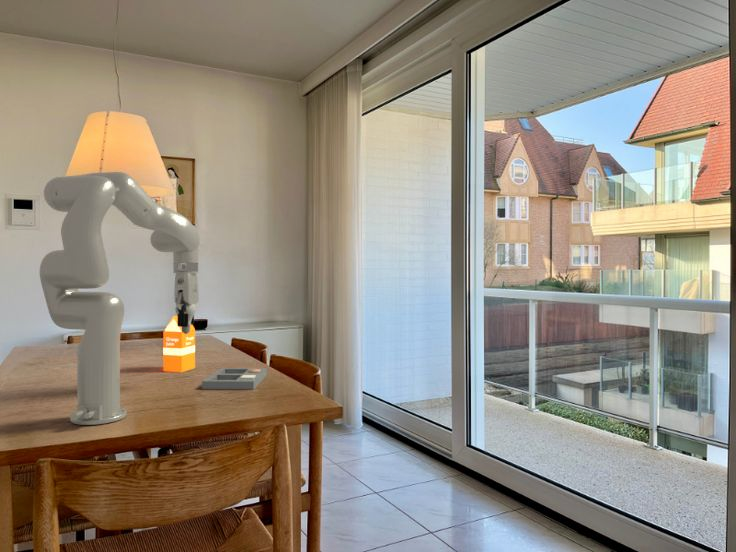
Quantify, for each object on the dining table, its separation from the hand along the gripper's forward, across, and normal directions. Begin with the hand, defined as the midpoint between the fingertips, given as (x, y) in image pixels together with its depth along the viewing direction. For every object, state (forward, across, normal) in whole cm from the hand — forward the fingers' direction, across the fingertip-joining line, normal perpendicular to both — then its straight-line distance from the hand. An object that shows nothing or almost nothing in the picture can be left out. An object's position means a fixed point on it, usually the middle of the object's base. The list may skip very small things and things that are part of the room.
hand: (185, 324), depth 170 cm
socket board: (+19, +6, -15) cm, 25 cm away
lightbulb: (+3, 0, 0) cm, 3 cm away
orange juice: (+20, +27, +11) cm, 35 cm away
